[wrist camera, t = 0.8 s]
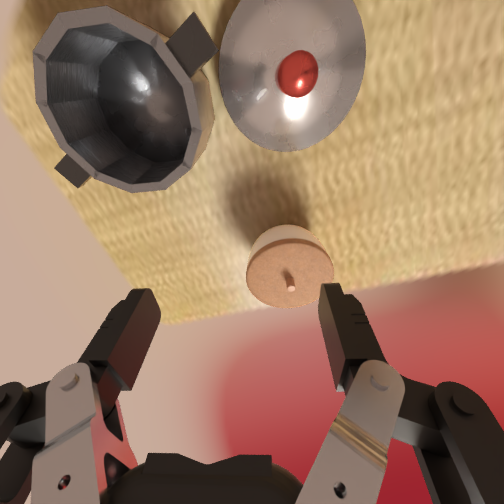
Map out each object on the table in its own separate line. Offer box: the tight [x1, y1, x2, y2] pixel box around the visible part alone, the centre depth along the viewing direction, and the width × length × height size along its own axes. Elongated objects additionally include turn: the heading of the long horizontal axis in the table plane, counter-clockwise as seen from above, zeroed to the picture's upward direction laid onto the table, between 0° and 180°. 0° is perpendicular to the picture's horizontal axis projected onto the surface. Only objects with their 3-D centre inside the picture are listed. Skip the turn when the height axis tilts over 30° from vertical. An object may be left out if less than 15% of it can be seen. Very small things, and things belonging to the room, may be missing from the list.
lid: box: [219, 0, 366, 152], centre depth 21 cm, size 14×14×7 cm
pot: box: [33, 6, 219, 193], centre depth 23 cm, size 18×12×8 cm
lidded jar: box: [246, 225, 334, 308], centre depth 32 cm, size 11×11×9 cm
